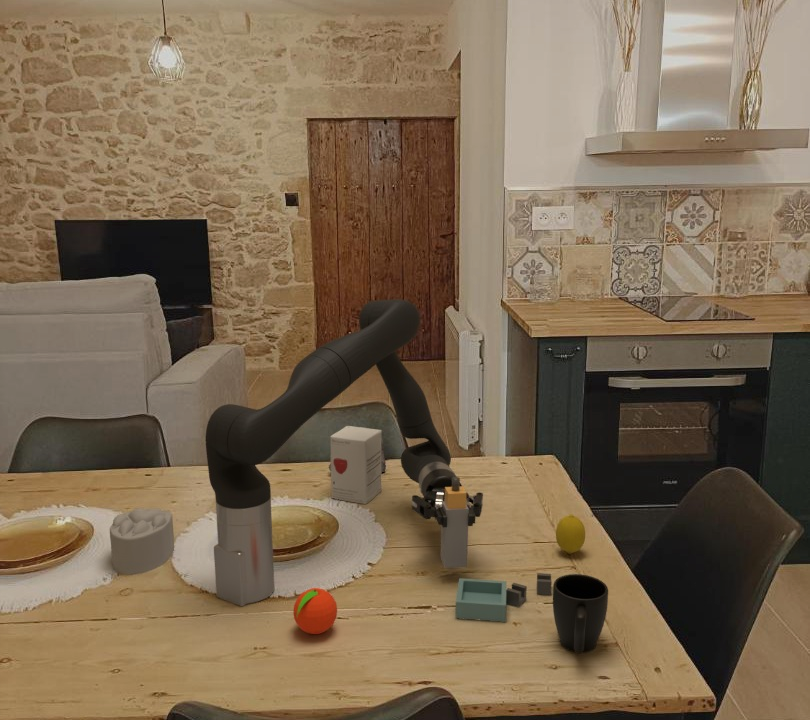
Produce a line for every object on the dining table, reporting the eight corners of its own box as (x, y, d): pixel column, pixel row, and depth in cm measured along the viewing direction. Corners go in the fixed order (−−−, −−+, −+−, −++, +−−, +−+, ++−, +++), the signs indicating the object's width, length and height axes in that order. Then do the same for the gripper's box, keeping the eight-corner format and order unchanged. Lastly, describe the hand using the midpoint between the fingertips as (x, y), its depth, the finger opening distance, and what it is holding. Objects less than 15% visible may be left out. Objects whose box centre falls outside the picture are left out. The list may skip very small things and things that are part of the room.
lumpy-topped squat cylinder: (180, 544, 159) (177, 503, 157) (157, 575, 146) (153, 531, 144) (128, 543, 159) (125, 502, 157) (101, 574, 147) (97, 530, 145)
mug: (547, 668, 118) (549, 609, 116) (552, 625, 130) (555, 571, 127) (604, 675, 116) (608, 616, 114) (605, 631, 128) (608, 576, 126)
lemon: (584, 561, 151) (586, 521, 149) (554, 558, 152) (556, 519, 151) (584, 548, 156) (586, 510, 155) (555, 546, 158) (556, 508, 156)
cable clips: (535, 612, 133) (535, 598, 133) (505, 603, 136) (506, 589, 136) (557, 588, 141) (557, 575, 141) (528, 580, 144) (529, 567, 143)
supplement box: (329, 499, 181) (328, 435, 178) (347, 485, 189) (346, 424, 186) (366, 505, 178) (365, 440, 174) (382, 491, 186) (382, 429, 183)
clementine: (315, 651, 123) (314, 608, 121) (280, 637, 126) (278, 596, 125) (346, 626, 129) (345, 586, 128) (312, 614, 133) (311, 575, 131)
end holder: (505, 622, 130) (506, 605, 130) (455, 618, 131) (455, 602, 131) (506, 597, 138) (506, 581, 138) (459, 594, 139) (459, 578, 139)
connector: (467, 567, 143) (469, 481, 139) (444, 568, 142) (446, 482, 139) (462, 556, 147) (464, 473, 143) (440, 558, 146) (442, 474, 143)
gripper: (404, 469, 155) (418, 503, 138) (476, 466, 157) (498, 499, 140) (403, 506, 156) (417, 544, 139) (475, 502, 158) (497, 539, 142)
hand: (458, 521), depth 140 cm, fingers closed on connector, 4 cm apart
